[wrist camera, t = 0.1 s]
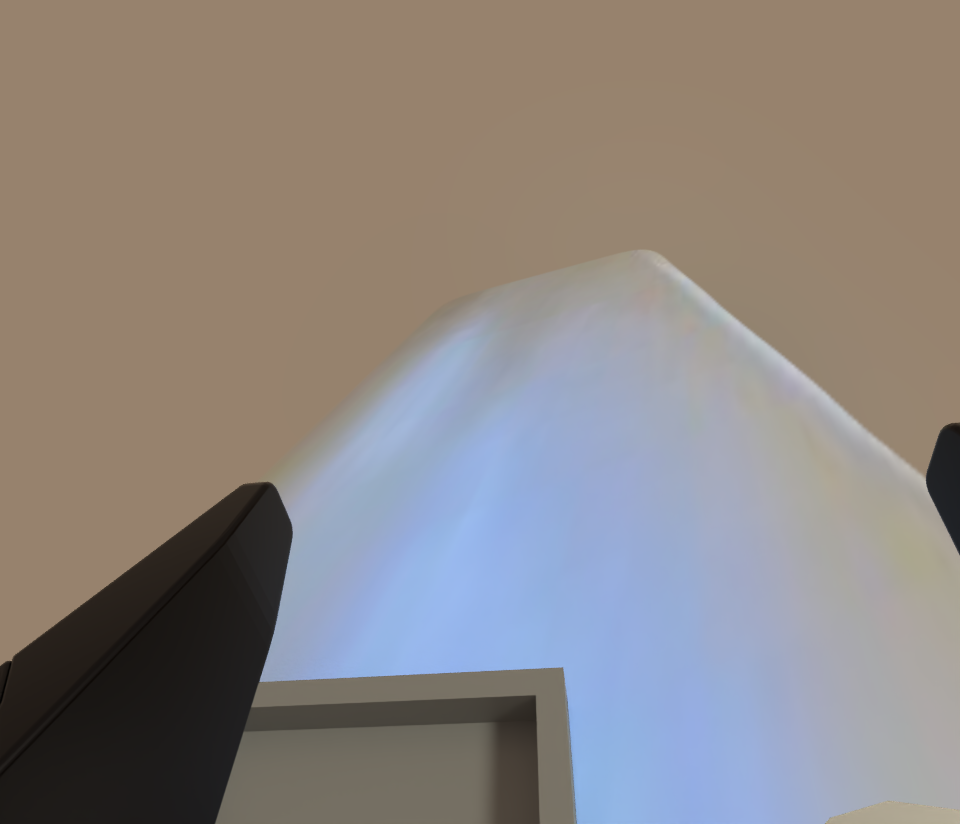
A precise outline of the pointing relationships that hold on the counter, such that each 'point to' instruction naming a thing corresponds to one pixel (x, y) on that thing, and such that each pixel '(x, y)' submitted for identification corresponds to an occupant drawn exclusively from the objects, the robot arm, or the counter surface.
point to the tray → (406, 751)
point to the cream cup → (898, 815)
